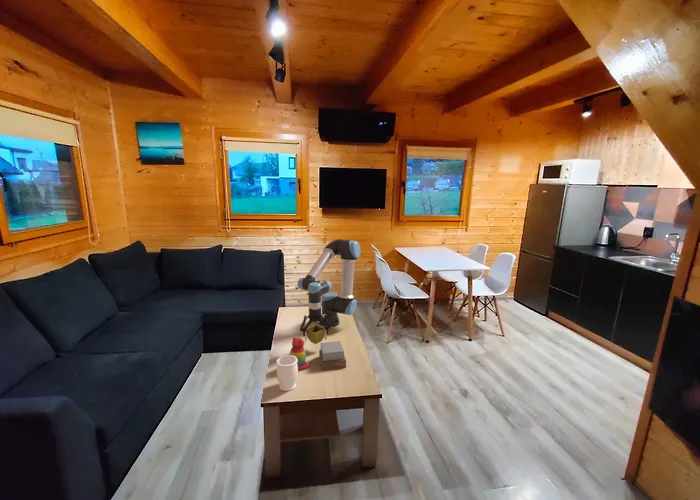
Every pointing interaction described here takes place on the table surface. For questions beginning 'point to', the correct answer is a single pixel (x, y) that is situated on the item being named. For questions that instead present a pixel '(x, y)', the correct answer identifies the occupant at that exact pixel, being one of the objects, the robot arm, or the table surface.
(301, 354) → the stacking bear
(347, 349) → the table surface
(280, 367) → the jar
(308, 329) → the flower pot
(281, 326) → the table surface
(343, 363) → the walnut base slab
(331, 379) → the table surface
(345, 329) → the table surface
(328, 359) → the grey top slab
